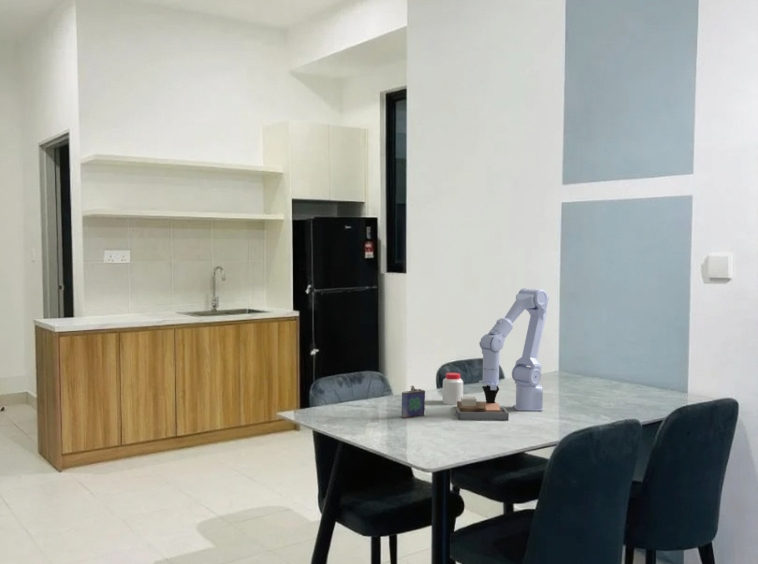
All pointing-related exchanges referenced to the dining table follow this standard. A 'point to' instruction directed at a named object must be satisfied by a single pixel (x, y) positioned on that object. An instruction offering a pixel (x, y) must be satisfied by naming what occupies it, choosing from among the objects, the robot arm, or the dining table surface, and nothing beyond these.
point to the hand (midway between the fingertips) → (490, 406)
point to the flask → (413, 403)
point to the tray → (482, 415)
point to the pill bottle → (452, 388)
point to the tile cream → (468, 401)
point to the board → (471, 407)
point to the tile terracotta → (491, 408)
